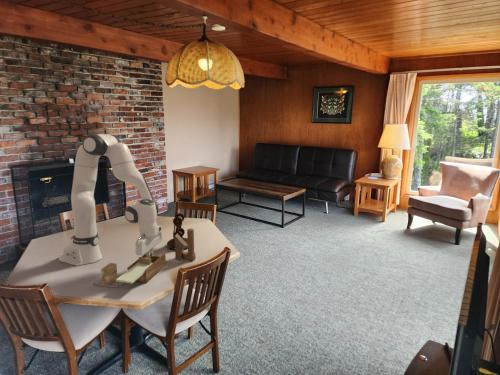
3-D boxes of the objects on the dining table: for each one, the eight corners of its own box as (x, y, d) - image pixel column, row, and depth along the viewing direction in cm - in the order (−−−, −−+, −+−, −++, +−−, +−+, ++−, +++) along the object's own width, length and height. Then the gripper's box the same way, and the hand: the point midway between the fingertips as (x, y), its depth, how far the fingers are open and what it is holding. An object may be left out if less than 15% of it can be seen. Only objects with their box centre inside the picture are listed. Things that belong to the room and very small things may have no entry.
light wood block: (102, 284, 165) (100, 269, 163) (111, 277, 172) (110, 262, 170) (108, 285, 164) (107, 270, 162) (117, 278, 171) (116, 263, 169)
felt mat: (93, 284, 166) (93, 283, 166) (102, 277, 173) (102, 276, 173) (117, 288, 163) (117, 287, 163) (126, 281, 170) (126, 280, 170)
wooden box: (128, 280, 171) (127, 267, 169) (149, 263, 190) (148, 251, 188) (146, 282, 168) (146, 270, 167) (165, 265, 187) (165, 253, 186)
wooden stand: (177, 256, 198) (176, 226, 194) (195, 258, 196) (195, 228, 192) (175, 259, 195) (174, 229, 190) (193, 261, 192) (192, 230, 188)
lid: (116, 281, 159) (115, 273, 158) (139, 262, 178) (139, 255, 177) (132, 283, 157) (131, 275, 156) (154, 264, 176) (153, 257, 175)
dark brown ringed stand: (170, 241, 220) (168, 211, 215) (193, 241, 220) (192, 211, 216) (164, 251, 206) (163, 218, 201) (189, 251, 206) (188, 219, 201)
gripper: (143, 239, 166) (144, 265, 169) (163, 225, 185) (164, 249, 189) (131, 237, 168) (133, 264, 171) (152, 224, 187) (154, 248, 190)
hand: (149, 256), depth 180 cm, fingers closed
